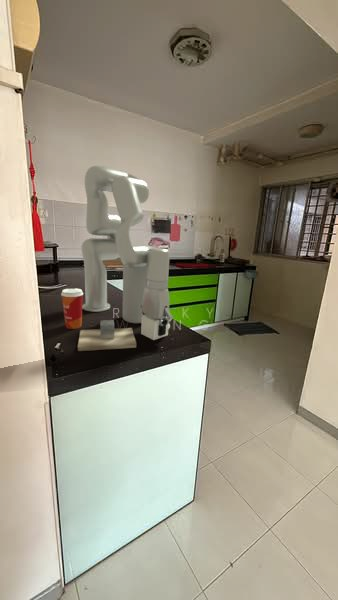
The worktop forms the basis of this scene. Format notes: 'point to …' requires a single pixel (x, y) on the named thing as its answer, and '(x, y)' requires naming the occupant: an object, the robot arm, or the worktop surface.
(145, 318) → the duct collar
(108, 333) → the block
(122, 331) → the board
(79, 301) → the paper cup
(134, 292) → the cylinder vase
